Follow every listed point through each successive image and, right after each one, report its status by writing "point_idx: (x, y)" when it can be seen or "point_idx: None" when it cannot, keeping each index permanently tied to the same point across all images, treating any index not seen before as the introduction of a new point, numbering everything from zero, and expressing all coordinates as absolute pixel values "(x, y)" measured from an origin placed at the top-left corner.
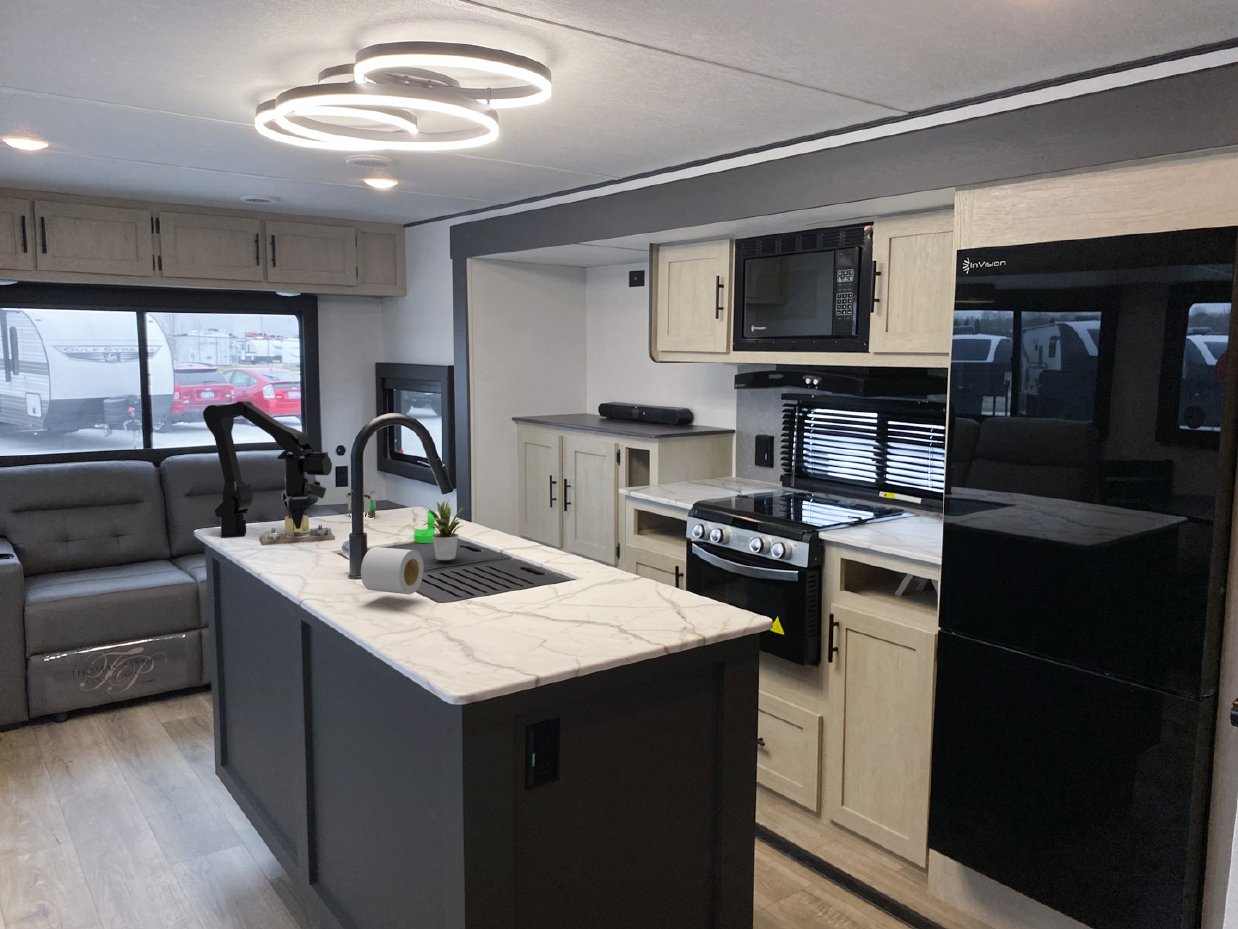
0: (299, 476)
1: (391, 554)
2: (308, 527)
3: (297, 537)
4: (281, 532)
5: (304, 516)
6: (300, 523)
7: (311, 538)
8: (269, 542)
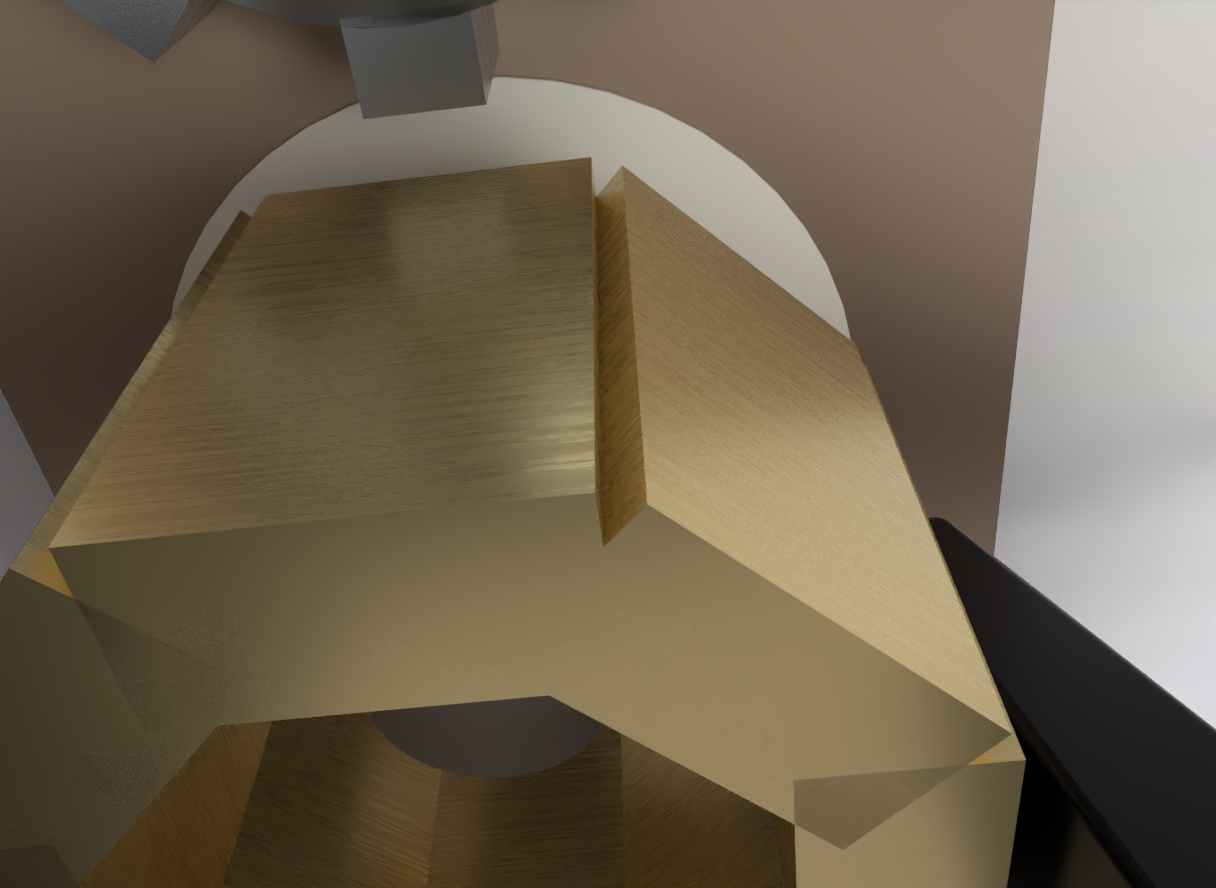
0: None
1: None
2: (637, 218)
3: None
4: None
5: (421, 684)
6: (1082, 645)
7: (1053, 5)
8: None
